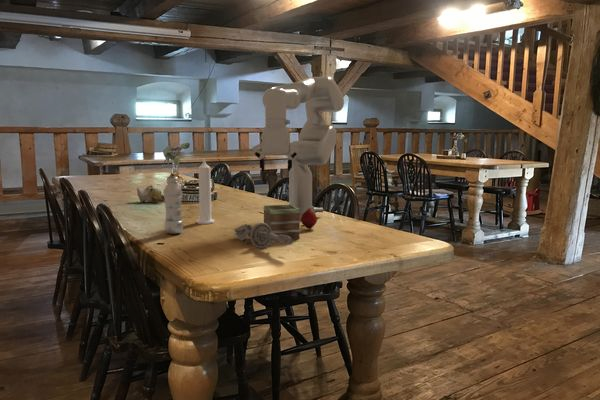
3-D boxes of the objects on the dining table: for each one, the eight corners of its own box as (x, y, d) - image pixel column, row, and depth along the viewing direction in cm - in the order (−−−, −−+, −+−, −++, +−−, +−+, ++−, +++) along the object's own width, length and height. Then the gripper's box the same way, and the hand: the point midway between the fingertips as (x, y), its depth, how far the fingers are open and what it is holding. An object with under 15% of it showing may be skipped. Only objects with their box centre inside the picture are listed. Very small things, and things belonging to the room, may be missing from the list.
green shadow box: (291, 232, 178) (291, 204, 176) (300, 239, 167) (300, 209, 166) (263, 234, 175) (263, 205, 173) (271, 241, 164) (271, 210, 163)
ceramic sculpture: (140, 183, 248) (170, 185, 248) (140, 200, 249) (170, 202, 249) (133, 185, 237) (164, 188, 237) (133, 203, 239) (164, 205, 239)
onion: (311, 231, 180) (311, 209, 179) (298, 229, 183) (298, 208, 182) (319, 228, 185) (319, 207, 184) (306, 226, 188) (306, 206, 187)
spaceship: (276, 235, 138) (298, 221, 142) (221, 226, 167) (240, 215, 171) (287, 259, 140) (308, 245, 144) (231, 247, 169) (249, 235, 173)
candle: (210, 224, 191) (209, 159, 187) (193, 223, 192) (191, 159, 189) (217, 221, 198) (216, 158, 194) (200, 220, 199) (199, 157, 195)
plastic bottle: (167, 236, 171) (165, 178, 168) (162, 232, 177) (160, 176, 174) (185, 234, 174) (184, 177, 171) (181, 230, 180) (179, 175, 177)
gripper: (300, 123, 184) (300, 169, 186) (253, 123, 184) (254, 169, 187) (298, 123, 176) (298, 171, 179) (250, 123, 177) (251, 171, 180)
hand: (276, 170), depth 183 cm, fingers open, 9 cm apart
